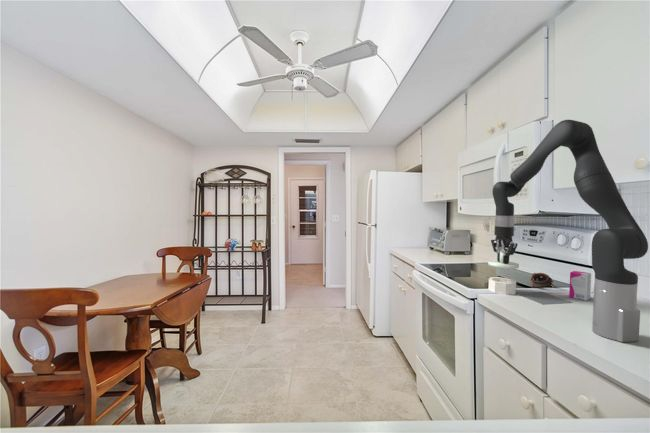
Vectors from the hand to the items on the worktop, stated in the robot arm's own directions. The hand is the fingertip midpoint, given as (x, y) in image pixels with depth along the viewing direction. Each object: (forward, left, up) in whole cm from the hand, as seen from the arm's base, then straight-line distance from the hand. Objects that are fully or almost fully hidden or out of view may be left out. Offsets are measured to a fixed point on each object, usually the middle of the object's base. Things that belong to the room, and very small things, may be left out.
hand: (502, 262), depth 129 cm
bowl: (0, 0, -14) cm, 14 cm away
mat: (-11, -10, -14) cm, 20 cm away
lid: (0, 0, -1) cm, 1 cm away
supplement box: (-13, -26, -14) cm, 32 cm away
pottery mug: (+4, -24, -14) cm, 28 cm away
